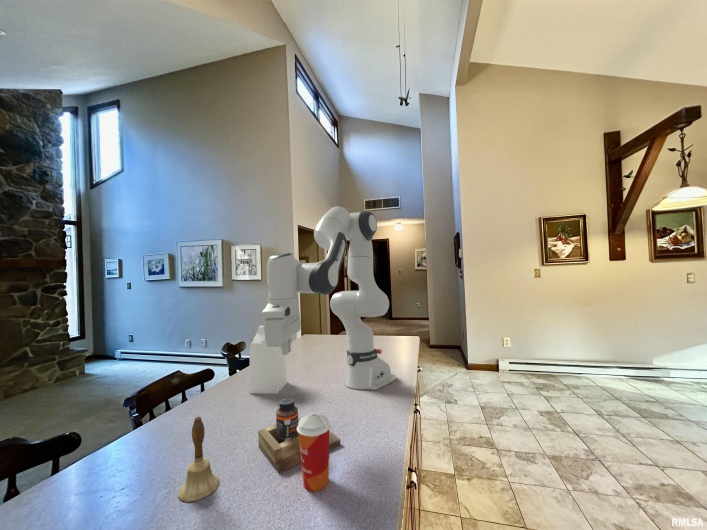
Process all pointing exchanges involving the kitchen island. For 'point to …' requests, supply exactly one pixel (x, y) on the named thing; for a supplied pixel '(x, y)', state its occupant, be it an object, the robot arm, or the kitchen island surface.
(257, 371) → the milk
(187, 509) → the kitchen island surface
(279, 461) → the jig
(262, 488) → the kitchen island surface
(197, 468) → the hand bell
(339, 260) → the robot arm
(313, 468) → the paper cup
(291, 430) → the supplement bottle
